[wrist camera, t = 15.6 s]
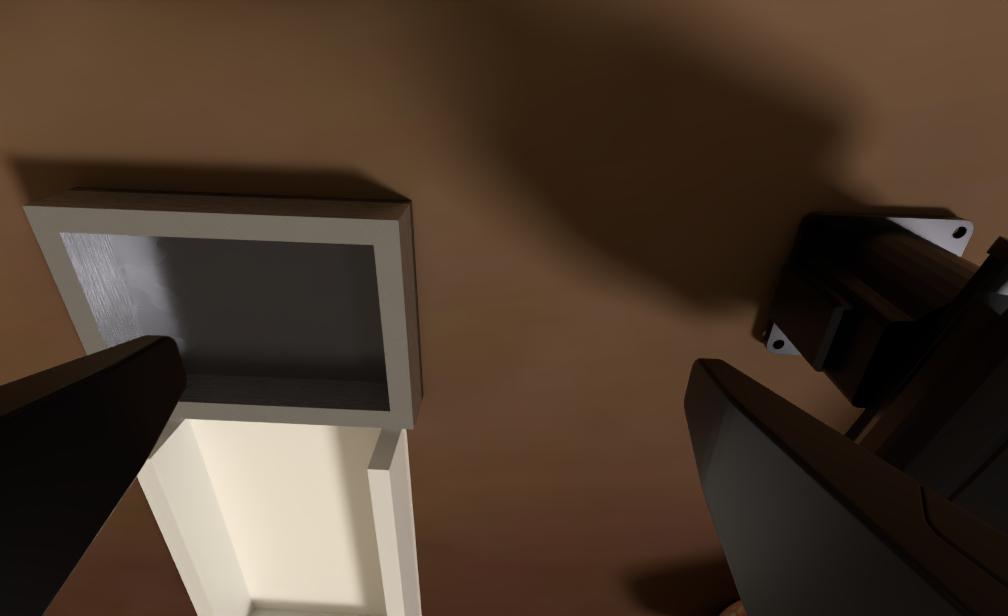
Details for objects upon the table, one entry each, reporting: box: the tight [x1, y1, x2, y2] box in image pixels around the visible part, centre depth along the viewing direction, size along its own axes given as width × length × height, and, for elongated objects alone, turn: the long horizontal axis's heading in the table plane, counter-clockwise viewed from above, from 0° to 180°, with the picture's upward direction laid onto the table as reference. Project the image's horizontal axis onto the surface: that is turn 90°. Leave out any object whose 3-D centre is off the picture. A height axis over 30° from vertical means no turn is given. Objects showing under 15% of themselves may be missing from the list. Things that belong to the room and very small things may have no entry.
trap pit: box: [23, 188, 423, 429], centre depth 22 cm, size 14×10×2 cm
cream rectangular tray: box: [137, 418, 422, 616], centre depth 29 cm, size 12×18×4 cm, turn 178°
